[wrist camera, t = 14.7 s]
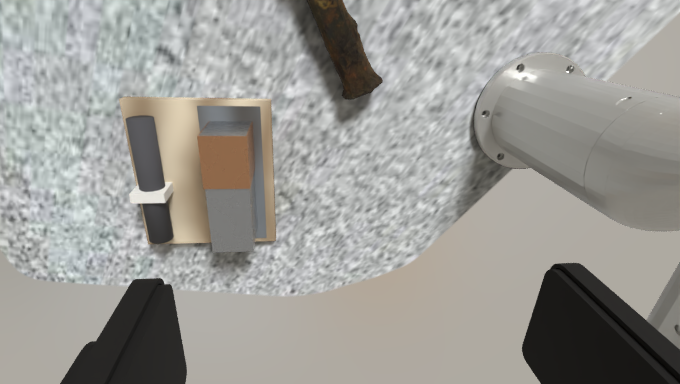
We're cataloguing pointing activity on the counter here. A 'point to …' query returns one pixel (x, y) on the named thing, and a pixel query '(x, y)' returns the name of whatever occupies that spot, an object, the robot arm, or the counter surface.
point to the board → (184, 162)
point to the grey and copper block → (229, 184)
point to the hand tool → (345, 47)
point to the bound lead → (150, 178)
